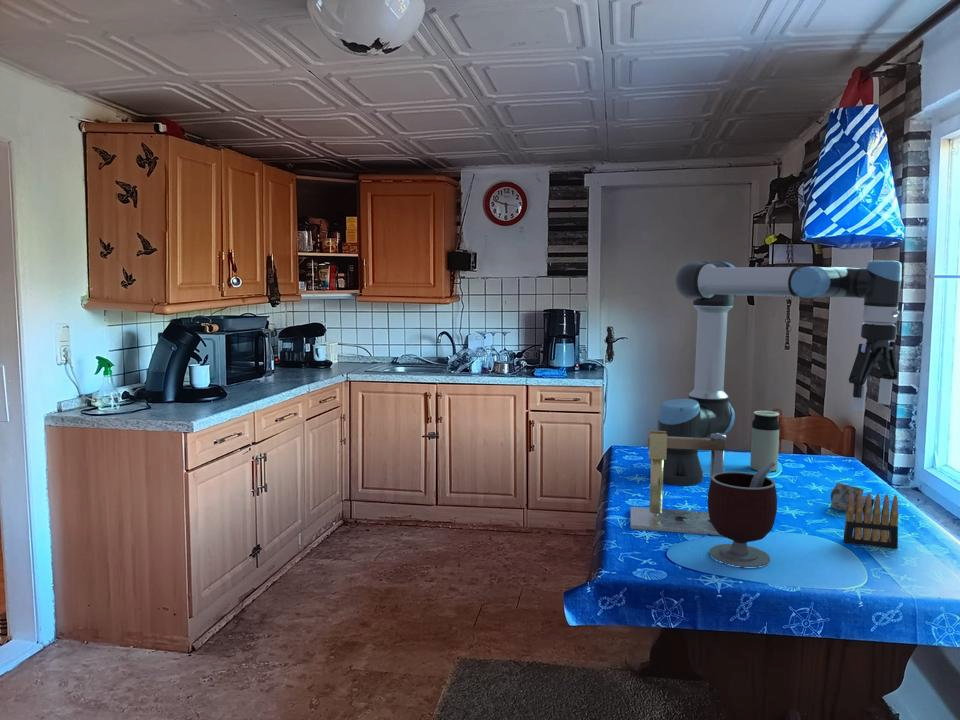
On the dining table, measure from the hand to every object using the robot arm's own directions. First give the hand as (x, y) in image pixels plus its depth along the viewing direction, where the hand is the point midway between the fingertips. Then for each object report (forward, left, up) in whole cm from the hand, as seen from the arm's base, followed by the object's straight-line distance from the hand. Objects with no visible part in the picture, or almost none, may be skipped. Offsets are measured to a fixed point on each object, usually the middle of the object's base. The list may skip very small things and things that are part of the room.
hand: (870, 407), depth 181 cm
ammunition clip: (+11, -22, -28) cm, 37 cm away
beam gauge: (-24, -44, -27) cm, 57 cm away
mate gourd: (-3, -51, -28) cm, 58 cm away
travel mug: (-39, +19, -28) cm, 51 cm away
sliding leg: (-29, -47, -26) cm, 61 cm away
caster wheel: (-4, +1, -28) cm, 28 cm away
